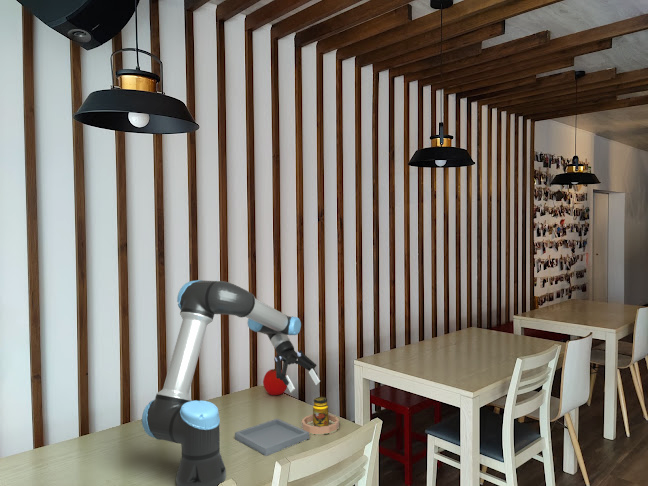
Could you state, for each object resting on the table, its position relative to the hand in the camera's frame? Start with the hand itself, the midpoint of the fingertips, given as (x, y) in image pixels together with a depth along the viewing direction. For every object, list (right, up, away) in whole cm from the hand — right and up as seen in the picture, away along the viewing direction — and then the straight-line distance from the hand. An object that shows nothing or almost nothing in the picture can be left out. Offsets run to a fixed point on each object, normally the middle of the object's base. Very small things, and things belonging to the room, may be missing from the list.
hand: (305, 387), depth 198 cm
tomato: (-16, -14, +35) cm, 41 cm away
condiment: (+6, -14, -7) cm, 17 cm away
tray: (-12, -15, -17) cm, 25 cm away
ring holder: (+6, -14, -7) cm, 17 cm away
